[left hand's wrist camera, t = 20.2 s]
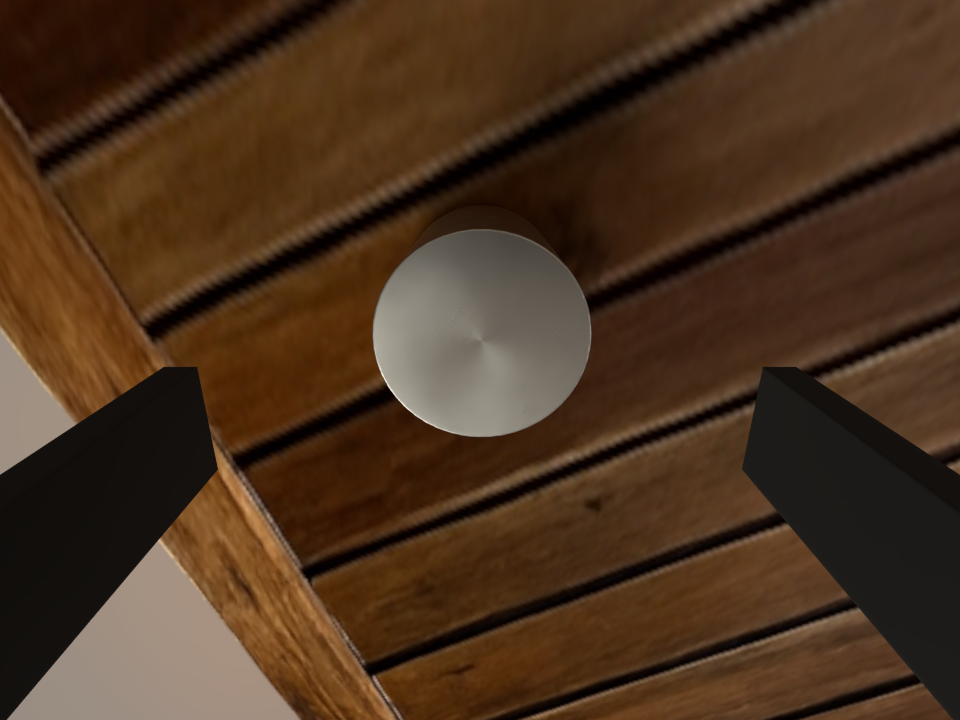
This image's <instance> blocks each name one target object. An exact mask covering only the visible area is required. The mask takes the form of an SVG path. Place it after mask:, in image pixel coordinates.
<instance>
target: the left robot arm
mask: <svg viewBox="0 0 960 720" xmlns="http://www.w3.org/2000/svg"><path fill="white" fill-rule="evenodd" d="M217 470H218V467H217V463H216V458H215V453H214V448H213V443H212V438H211V433H210V428H209V424H208V419H207V414H206V409H205V404H204V399H203V394H202V389H201V384H200V380H199V375H198V370H197V367H163V368H162V369H160V370H159V371H157V372H156V373H154V374H153V375H151V376H149V377H148V378H146V379H145V380H143V381H142V382H140V383H139V384H137V385H136V386H134V387H133V388H131V389H130V390H128V391H127V392H125V393H124V394H122V395H121V396H119V397H118V398H116V399H115V400H113V401H112V402H110V403H109V404H107V405H105V406H104V407H102V408H101V409H99V410H98V411H96V412H95V413H93V414H92V415H90V416H89V417H87V418H86V419H84V420H83V421H81V422H80V423H78V424H77V425H75V426H74V427H72V428H71V429H69V430H68V431H66V432H65V433H63V434H61V435H60V436H58V437H57V438H55V439H54V440H52V441H51V442H49V443H48V444H46V445H45V446H43V447H42V448H40V449H39V450H37V451H36V452H34V453H33V454H31V455H30V456H28V457H27V458H25V459H24V460H22V461H20V462H19V463H17V464H16V465H14V466H13V467H11V468H10V469H8V470H7V471H5V472H4V473H2V474H1V475H0V720H7V719H8V718H9V716H10V715H11V714H12V713H13V712H14V710H15V709H16V708H17V707H18V706H19V704H20V703H21V702H22V701H23V700H24V699H25V697H26V696H27V695H28V694H29V693H30V691H31V690H32V689H33V688H34V687H35V686H36V684H37V683H38V682H39V681H40V680H41V678H42V677H43V676H44V675H45V674H46V672H47V671H48V670H49V669H50V668H51V667H52V665H53V664H54V663H55V662H56V661H57V659H58V658H59V657H60V656H61V655H62V654H63V652H64V651H65V650H66V649H67V648H68V646H69V645H70V644H71V643H72V642H73V640H74V639H75V638H76V637H77V636H78V635H79V633H80V632H81V631H82V630H83V629H84V628H85V626H86V625H87V624H88V623H89V622H90V620H91V619H92V618H93V617H94V616H95V614H96V613H97V612H98V611H99V610H100V609H101V607H102V606H103V605H104V604H105V603H106V601H107V600H108V599H109V598H110V597H111V595H112V594H113V593H114V592H115V591H116V590H117V588H118V587H119V586H120V585H121V584H122V582H123V581H124V580H125V579H126V578H127V576H128V575H129V574H130V573H131V572H132V571H133V569H134V568H135V567H136V566H137V565H138V564H139V562H140V561H141V560H142V559H143V558H144V556H145V555H146V554H147V553H148V552H149V550H150V549H151V548H152V547H153V546H154V545H155V543H156V542H157V541H158V540H159V539H160V537H161V536H162V535H163V534H164V533H165V532H166V530H167V529H168V528H169V527H170V526H171V524H172V523H173V522H174V521H175V520H176V518H177V517H178V516H179V515H180V514H181V513H182V511H183V510H184V509H185V508H186V507H187V505H188V504H189V503H190V502H191V501H192V499H193V498H194V497H195V496H196V495H197V494H198V492H199V491H200V490H201V489H202V488H203V486H204V485H205V484H206V483H207V482H208V481H209V479H210V478H211V477H212V476H213V475H214V473H215V472H216V471H217ZM742 470H743V471H744V472H745V473H746V475H747V476H748V477H749V478H750V479H751V481H752V482H753V483H754V484H755V485H756V486H757V488H758V489H759V490H760V491H761V492H762V494H763V495H764V496H765V497H766V498H767V499H768V501H769V502H770V503H771V504H772V505H773V507H774V508H775V509H776V510H777V511H778V513H779V514H780V515H781V516H782V517H783V518H784V520H785V521H786V522H787V523H788V524H789V526H790V527H791V528H792V529H793V530H794V532H795V533H796V534H797V535H798V536H799V537H800V539H801V540H802V541H803V542H804V543H805V545H806V546H807V547H808V548H809V549H810V550H811V552H812V553H813V554H814V555H815V556H816V558H817V559H818V560H819V561H820V562H821V564H822V565H823V566H824V567H825V568H826V569H827V571H828V572H829V573H830V574H831V575H832V577H833V578H834V579H835V580H836V581H837V582H838V584H839V585H840V586H841V587H842V588H843V590H844V591H845V592H846V593H847V594H848V596H849V597H850V598H851V599H852V600H853V601H854V603H855V604H856V605H857V606H858V607H859V609H860V610H861V611H862V612H863V613H864V614H865V616H866V617H867V618H868V619H869V620H870V622H871V623H872V624H873V625H874V626H875V628H876V629H877V630H878V631H879V632H880V633H881V635H882V636H883V637H884V638H885V639H886V641H887V642H888V643H889V644H890V645H891V646H892V648H893V649H894V650H895V651H896V652H897V654H898V655H899V656H900V657H901V658H902V660H903V661H904V662H905V663H906V664H907V665H908V667H909V668H910V669H911V670H912V671H913V673H914V674H915V675H916V676H917V677H918V678H919V680H920V681H921V682H922V683H923V684H924V686H925V687H926V688H927V689H928V690H929V692H930V693H931V694H932V695H933V696H934V697H935V699H936V700H937V701H938V702H939V703H940V705H941V706H942V707H943V708H944V709H945V710H946V712H947V713H948V714H949V715H950V716H951V718H952V719H953V720H960V475H959V474H958V473H956V472H955V471H953V470H952V469H950V468H949V467H947V466H946V465H944V464H943V463H941V462H940V461H938V460H936V459H935V458H933V457H932V456H930V455H929V454H927V453H926V452H924V451H923V450H921V449H920V448H918V447H917V446H915V445H914V444H912V443H911V442H909V441H908V440H906V439H905V438H903V437H902V436H900V435H899V434H897V433H895V432H894V431H892V430H891V429H889V428H888V427H886V426H885V425H883V424H882V423H880V422H879V421H877V420H876V419H874V418H873V417H871V416H870V415H868V414H867V413H865V412H864V411H862V410H861V409H859V408H858V407H856V406H855V405H853V404H851V403H850V402H848V401H847V400H845V399H844V398H842V397H841V396H839V395H838V394H836V393H835V392H833V391H832V390H830V389H829V388H827V387H826V386H824V385H823V384H821V383H820V382H818V381H817V380H815V379H814V378H812V377H811V376H809V375H807V374H806V373H804V372H803V371H801V370H800V369H798V368H797V367H763V370H762V375H761V380H760V384H759V389H758V394H757V399H756V404H755V409H754V414H753V419H752V424H751V428H750V433H749V438H748V443H747V448H746V453H745V458H744V463H743V467H742Z"/></svg>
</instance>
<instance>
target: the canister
mask: <svg viewBox="0 0 960 720" xmlns="http://www.w3.org/2000/svg"><path fill="white" fill-rule="evenodd" d="M591 336H592V329H591V317H590V313H589V308H588V304H587V301H586V299H585V296H584V293H583V291H582V289H581V287H580V285H579V283H578V282H577V280H576V278H575V277H574V275H573V274H572V273H571V271H570V270H569V269H568V267H567V266H566V265H565V263H564V262H563V261H562V260H561V258H560V257H559V256H558V255H557V253H556V252H555V251H554V250H553V248H552V247H551V246H550V245H549V243H548V242H547V241H546V239H545V238H544V237H543V236H542V234H541V233H540V232H539V231H538V230H537V229H536V228H535V227H534V226H533V225H532V224H531V223H530V222H529V221H527V220H526V219H525V218H523V217H522V216H520V215H518V214H517V213H515V212H512V211H510V210H507V209H505V208H501V207H497V206H490V205H472V206H466V207H462V208H459V209H455V210H453V211H451V212H449V213H446V214H445V215H443V216H441V217H440V218H438V219H437V220H435V221H434V222H433V223H432V224H431V225H429V227H428V228H427V229H426V230H425V231H424V232H423V233H422V234H421V236H420V237H419V238H418V240H417V241H416V242H415V244H414V245H413V246H412V247H411V249H410V250H409V251H408V253H407V254H406V255H405V257H404V258H403V259H402V261H401V262H400V263H399V265H398V266H397V267H396V268H395V270H394V271H393V273H392V274H391V276H390V277H389V278H388V280H387V281H386V283H385V285H384V287H383V289H382V291H381V293H380V296H379V299H378V302H377V305H376V308H375V313H374V318H373V329H372V338H373V349H374V353H375V357H376V362H377V364H378V367H379V370H380V372H381V375H382V376H383V378H384V380H385V382H386V384H387V386H388V387H389V389H390V390H391V391H392V393H393V394H394V396H395V397H396V398H397V399H398V400H399V401H400V402H401V403H402V404H403V405H404V407H406V408H407V409H408V410H409V411H410V412H412V413H413V414H414V415H415V416H417V417H418V418H420V419H421V420H423V421H424V422H426V423H428V424H430V425H432V426H434V427H436V428H438V429H441V430H444V431H447V432H450V433H454V434H459V435H463V436H473V437H492V436H500V435H505V434H509V433H513V432H517V431H520V430H522V429H525V428H528V427H530V426H532V425H534V424H535V423H537V422H539V421H541V420H542V419H544V418H545V417H547V416H548V415H550V414H551V413H552V412H554V411H555V410H556V409H557V408H558V407H559V406H560V405H561V404H562V403H563V402H564V401H565V400H566V399H567V398H568V396H569V395H570V394H571V393H572V391H573V390H574V388H575V387H576V385H577V384H578V382H579V380H580V378H581V376H582V374H583V372H584V369H585V367H586V364H587V361H588V357H589V352H590V347H591Z"/></svg>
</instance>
